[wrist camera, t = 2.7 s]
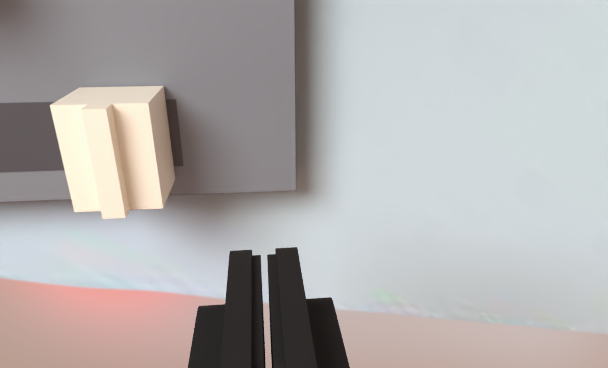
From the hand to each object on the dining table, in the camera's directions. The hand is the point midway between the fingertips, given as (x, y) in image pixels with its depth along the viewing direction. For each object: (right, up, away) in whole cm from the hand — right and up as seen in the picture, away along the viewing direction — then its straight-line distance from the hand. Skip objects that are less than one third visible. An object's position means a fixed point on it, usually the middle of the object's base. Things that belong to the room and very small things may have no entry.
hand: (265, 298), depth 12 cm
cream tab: (-8, +5, +12) cm, 15 cm away
